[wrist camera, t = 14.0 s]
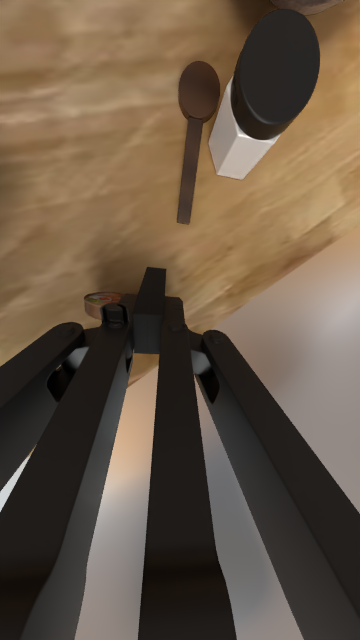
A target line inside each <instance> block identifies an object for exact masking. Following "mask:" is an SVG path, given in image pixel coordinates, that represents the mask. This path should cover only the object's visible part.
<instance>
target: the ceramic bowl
mask: <svg viewBox="0 0 360 640" xmlns="http://www.w3.org/2000/svg"><path fill="white" fill-rule="evenodd" d="M270 1H271V2H272V3H273V4H274V5H275V6H276V7H278V8H280V9H292V10H295V11H297V12H299V13H301V14H302V15H313V14H316V13H320V12H323V11H324V10H326V9H328V8H331V7H333V6H335V5H337V4H339V3H340V2H342V1H344V0H270Z"/></svg>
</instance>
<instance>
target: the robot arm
mask: <svg viewBox="0 0 360 640" xmlns="http://www.w3.org/2000/svg"><path fill="white" fill-rule="evenodd" d="M165 280H166V269H162V268H151V267H147V269H146V272H145V275H144V278H143V281H142V284H141V287H140V290H139V293H138V295H135V294H125V295H124V296H122V297H121V298H120V300H119V302H111V303H107V304H105V305H102V306H101V307H100V308H99V309H100V314H101V319H102V324H101V326H100V327H96V328H91V329H84V330H83V327H82V325H81V324H79V323H75V322H68V323H62V324H59V325H57V326H55V327H53V328H52V329H51V330H49V331H48V332H46V333H45V334H44V335H42V336H41V337H40V338H38V339H37V340H36V341H34V342H33V343H32V344H30V345H29V346H28V347H26V348H25V349H24V350H22V351H21V352H20V353H18V354H17V355H16V356H14V357H13V358H12V359H10V360H9V361H7V362H6V363H5V364H3V365H2V366H1V367H0V491H1V490H2V489H3V487H4V486H5V485H6V484H7V482H8V481H9V479H10V478H11V477H12V476H13V474H14V473H15V472H16V470H17V469H18V468H19V466H20V465H21V464H22V462H23V461H24V460H25V459H26V457H27V456H28V455H29V453H30V452H31V451H32V449H33V448H34V447H35V446H36V447H35V449H34V451H33V452H32V454H31V456H30V458H29V460H28V462H27V464H26V466H25V467H24V469H23V471H22V473H21V475H20V477H19V478H18V480H17V482H16V484H15V486H14V488H13V490H12V492H11V493H10V495H9V497H8V499H7V501H6V503H5V505H4V507H3V508H2V510H1V512H0V640H74V638H75V633H76V629H77V624H78V620H79V616H80V611H81V606H82V601H83V596H84V589H85V583H86V567H87V561H88V556H89V551H90V547H91V542H92V538H93V534H94V529H95V525H96V520H97V516H98V511H99V507H100V503H101V499H102V494H103V490H104V485H105V481H106V476H107V472H108V468H109V463H110V459H111V455H112V450H113V445H114V441H115V437H116V433H117V428H118V424H119V419H120V415H121V411H122V406H123V402H124V397H125V393H126V389H127V384H128V380H129V375H130V371H131V366H132V362H133V355H132V354H133V350H134V353H143V354H160V355H159V369H158V382H157V395H156V409H155V422H154V436H153V450H152V463H151V477H150V489H149V503H148V516H147V530H146V543H145V556H144V569H143V582H142V594H141V606H140V619H139V632H138V640H237V639H236V632H235V626H234V620H233V614H232V609H231V603H230V599H229V594H228V590H227V586H226V582H225V579H224V576H223V573H222V570H221V567H220V564H219V561H218V556H217V552H216V546H215V539H214V532H213V524H212V516H211V508H210V501H209V492H208V485H207V476H206V468H205V460H204V452H203V444H202V437H201V428H200V420H199V413H198V406H197V397H196V390H195V381H194V375H195V377H196V380H197V382H198V385H199V387H200V390H201V392H202V395H203V397H204V399H205V402H206V404H207V406H208V409H209V411H210V414H211V416H212V419H213V421H214V424H215V426H216V429H217V431H218V434H219V436H220V438H221V441H222V443H223V446H224V448H225V451H226V453H227V455H228V458H229V460H230V463H231V465H232V468H233V470H234V472H235V475H236V477H237V480H238V482H239V484H240V487H241V489H242V491H243V494H244V496H245V499H246V502H247V504H248V506H249V509H250V511H251V514H252V516H253V519H254V521H255V523H256V526H257V528H258V531H259V533H260V535H261V538H262V541H263V543H264V545H265V548H266V550H267V553H268V555H269V557H270V560H271V562H272V565H273V567H274V570H275V572H276V575H277V577H278V579H279V582H280V584H281V587H282V589H283V592H284V594H285V597H286V599H287V601H288V604H289V606H290V609H291V611H292V613H293V616H294V618H295V620H296V622H297V625H298V627H299V629H300V632H301V634H302V636H303V638H304V640H360V514H359V512H358V511H357V509H356V508H355V507H354V505H353V504H352V503H351V501H350V500H349V499H348V497H347V496H346V495H345V493H344V492H343V491H342V489H341V488H340V487H339V485H338V484H337V483H336V481H335V480H334V479H333V478H332V476H331V475H330V473H329V472H328V471H327V469H326V468H325V466H324V465H323V464H322V463H321V461H320V460H319V458H318V457H317V456H316V454H315V453H314V452H313V450H312V449H311V448H310V446H309V445H308V444H307V442H306V441H305V440H304V438H303V437H302V436H301V434H300V433H299V432H298V430H297V429H296V428H295V426H294V425H293V424H292V422H291V421H290V420H289V418H288V417H287V416H286V414H285V413H284V411H283V410H282V409H281V407H280V406H279V405H278V403H277V402H276V401H275V400H274V398H273V397H272V395H271V394H270V393H269V391H268V390H267V389H266V388H265V386H264V385H263V383H262V382H261V381H260V379H259V378H258V377H257V375H256V374H255V372H254V371H253V370H252V369H251V367H250V366H249V364H248V363H247V362H246V360H245V359H244V358H243V356H242V355H241V354H240V352H239V351H238V350H237V348H236V347H235V346H234V344H233V343H232V342H231V340H230V339H229V338H228V337H227V336H226V335H225V334H224V333H222V332H220V331H217V330H208V331H206V332H204V333H203V335H201V334H197V333H195V332H192V331H190V330H189V329H188V327H187V325H186V324H185V319H184V310H183V301H182V300H181V299H180V298H179V297H168V296H165ZM60 365H61V366H60ZM59 366H60V367H59ZM58 367H59V368H58ZM57 368H58V369H57ZM36 444H37V445H36Z"/></svg>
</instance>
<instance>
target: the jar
mask: <svg viewBox="0 0 360 640" xmlns="http://www.w3.org/2000/svg"><path fill="white" fill-rule="evenodd" d="M319 67H320V50H319V43H318V39H317V36H316V33H315V31H314V29H313V27H312V25H311V24H310V22H309V21H308V20H307V18H306V17H305V16H303V15H302V14H301V13H299V12H297V11H295V10H292V9H278V10H275V11H272V12H270V13H269V14H267V15H265V16H264V17H263V18H262V19H261V20H260V21H259V22H258V23H257V24H256V25H255V26H254V27H253V29H252V30H251V32H250V34H249V35H248V37H247V39H246V41H245V44H244V46H243V49H242V51H241V53H240V56H239V58H238V61H237V64H236V67H235V71H234V75H233V77H232V78H231V80H230V81H229V83H228V84H227V86H226V89H225V93H224V96H223V99H222V102H221V105H220V108H219V111H218V114H217V117H216V120H215V123H214V126H213V130H212V133H211V136H210V139H209V142H208V144H209V148H210V151H211V155H212V159H213V162H214V166H215V170H216V173H217V175H221V176H226V177H231V178H236V179H241V180H243V179H244V178H245V176H246V175H247V174H248V173H249V172H250V171H251V170H252V168H253V167H254V166H255V165H256V164H257V163H258V162H259V160H260V159H261V158H262V157H263V156H264V155H265V153H266V152H267V151H268V150H269V149H270V148H271V147H272V145H273V144H274V143H275V142H276V140H277V139H278V138H279V136H280V135H281V134H282V132H283V131H284V130H285V129H286V128H287V127H288V126H289V125H290V124H291V123H292V121H293V120H294V119H295V118H296V117H297V116H298V115H299V113H300V112H301V111H302V110H303V109H304V107H305V106H306V104H307V103H308V101H309V99H310V98H311V96H312V94H313V91H314V89H315V86H316V83H317V79H318V74H319Z"/></svg>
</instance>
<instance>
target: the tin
mask: <svg viewBox="0 0 360 640" xmlns="http://www.w3.org/2000/svg"><path fill="white" fill-rule="evenodd" d="M124 295H125V294H119V293H110V292H97V293H91V294H87V295H86V296H85V297H84V300H85V312H86V313H87V314H88V315H89V316H91V317H93V318H95V319H99V320H102V319H101V314H100V309H99V308H100V307H101V306H102V305H105V304H107V303H111V302H119V300H120V298H121V297H122V296H124Z"/></svg>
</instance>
